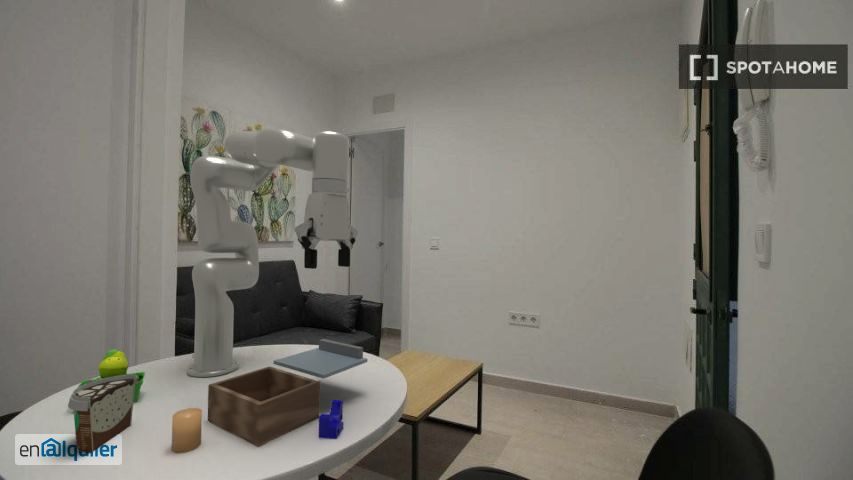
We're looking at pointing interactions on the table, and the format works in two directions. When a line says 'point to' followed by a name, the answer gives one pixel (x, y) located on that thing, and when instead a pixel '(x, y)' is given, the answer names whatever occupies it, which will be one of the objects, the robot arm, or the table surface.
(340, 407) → the cable holder
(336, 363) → the lid
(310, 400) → the housing
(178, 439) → the peg
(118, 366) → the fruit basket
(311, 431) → the table surface
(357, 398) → the table surface
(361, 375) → the table surface
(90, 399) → the food container
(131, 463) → the table surface
